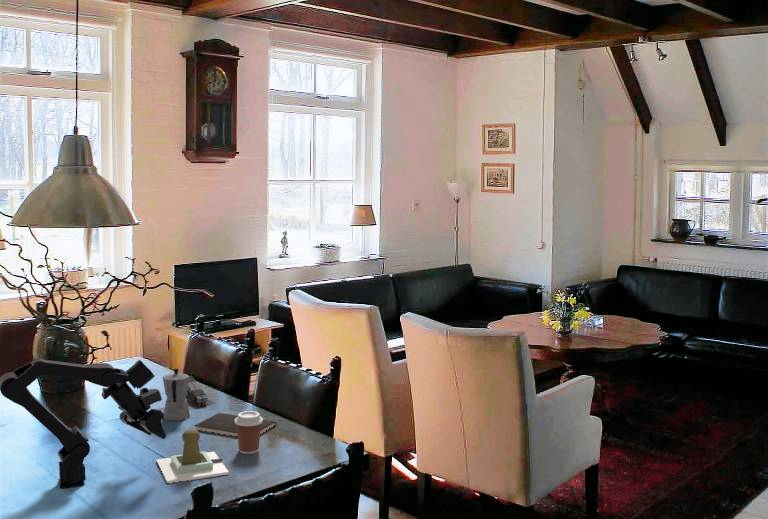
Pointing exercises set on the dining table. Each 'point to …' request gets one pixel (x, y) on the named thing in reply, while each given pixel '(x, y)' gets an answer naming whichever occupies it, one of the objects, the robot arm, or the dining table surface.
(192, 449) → the cork
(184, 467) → the dock plate
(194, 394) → the gun
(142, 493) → the dining table surface
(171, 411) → the coffeepot
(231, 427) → the hardcover book
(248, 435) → the coffee cup
